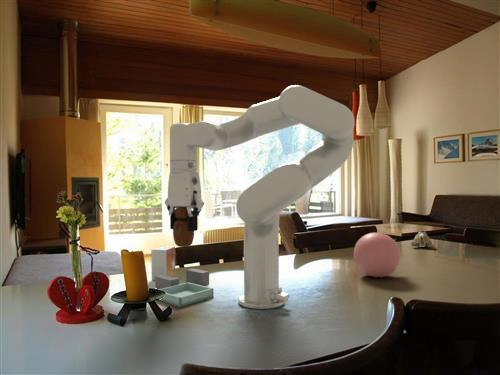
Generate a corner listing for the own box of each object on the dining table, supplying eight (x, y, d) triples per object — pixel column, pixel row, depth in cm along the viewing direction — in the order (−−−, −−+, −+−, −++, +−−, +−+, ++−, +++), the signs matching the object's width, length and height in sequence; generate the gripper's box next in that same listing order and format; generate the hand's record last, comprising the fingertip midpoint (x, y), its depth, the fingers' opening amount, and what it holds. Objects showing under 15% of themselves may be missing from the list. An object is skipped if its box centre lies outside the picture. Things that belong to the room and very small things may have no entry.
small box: (166, 281, 134) (166, 250, 133) (151, 280, 135) (150, 249, 135) (175, 275, 141) (175, 246, 141) (161, 275, 143) (160, 245, 142)
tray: (213, 297, 115) (213, 288, 115) (180, 307, 105) (179, 297, 105) (188, 290, 122) (188, 282, 122) (154, 299, 113) (154, 290, 113)
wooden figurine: (171, 244, 116) (171, 193, 115) (191, 243, 118) (190, 193, 118) (175, 248, 109) (175, 193, 109) (196, 247, 111) (195, 193, 111)
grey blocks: (209, 283, 130) (209, 271, 130) (171, 293, 118) (171, 280, 118) (193, 280, 135) (192, 268, 135) (155, 289, 123) (154, 276, 123)
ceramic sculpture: (432, 228, 205) (434, 234, 191) (433, 245, 206) (434, 251, 192) (410, 228, 209) (410, 233, 195) (410, 244, 210) (411, 250, 196)
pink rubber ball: (415, 275, 140) (415, 231, 140) (384, 284, 127) (384, 236, 127) (376, 268, 152) (376, 228, 152) (344, 276, 139) (344, 232, 139)
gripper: (214, 166, 110) (214, 230, 111) (174, 168, 122) (175, 226, 122) (193, 166, 105) (193, 233, 105) (154, 168, 116) (154, 228, 116)
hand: (183, 229), depth 113 cm, fingers closed on wooden figurine, 7 cm apart
